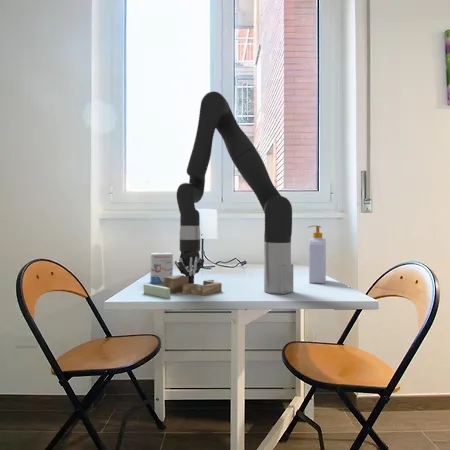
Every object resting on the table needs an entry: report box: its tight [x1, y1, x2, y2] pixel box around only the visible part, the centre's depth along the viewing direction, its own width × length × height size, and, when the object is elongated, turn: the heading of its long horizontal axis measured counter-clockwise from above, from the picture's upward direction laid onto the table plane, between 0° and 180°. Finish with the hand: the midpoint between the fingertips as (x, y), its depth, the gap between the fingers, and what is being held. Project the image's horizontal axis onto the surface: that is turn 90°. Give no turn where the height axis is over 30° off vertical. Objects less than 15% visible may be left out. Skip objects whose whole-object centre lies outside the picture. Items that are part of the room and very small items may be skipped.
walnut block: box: [164, 274, 189, 294], centre depth 124 cm, size 5×7×5 cm
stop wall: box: [143, 283, 171, 299], centre depth 116 cm, size 12×2×3 cm, turn 49°
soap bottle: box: [307, 225, 327, 285], centre depth 143 cm, size 9×7×23 cm
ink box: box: [150, 252, 174, 284], centre depth 142 cm, size 9×5×12 cm, turn 105°
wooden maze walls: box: [162, 279, 223, 296], centre depth 125 cm, size 18×14×3 cm
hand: (189, 285), depth 128 cm, fingers closed
